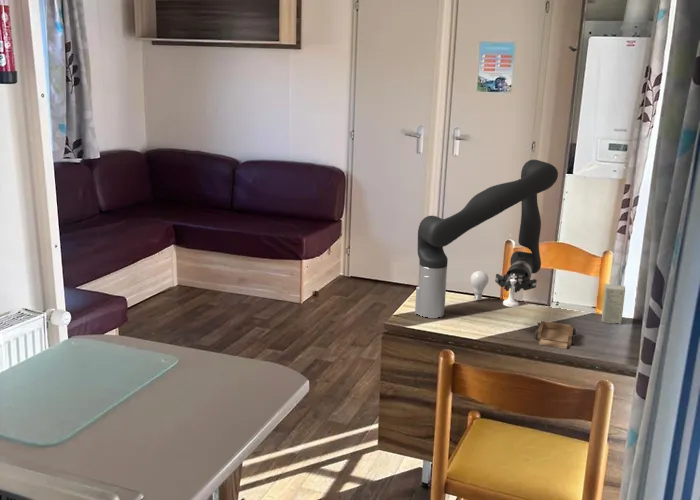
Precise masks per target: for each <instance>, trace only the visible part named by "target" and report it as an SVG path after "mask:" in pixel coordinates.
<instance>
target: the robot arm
mask: <svg viewBox="0 0 700 500" xmlns="http://www.w3.org/2000/svg"><path fill="white" fill-rule="evenodd" d="M520 173H521V174H520V178H519V179H517V180H512V181H509V182H504V183H499V184H496V185H491V186H489V187H488V188H486V189H484V190H481V191H480V192H479V193H477V194H475V195H474V196H473V197H472V198H471V199H469V201H468V202H467V203H466V205H465V206H464V207H463V208H462V209H461V210H460V211H458V212H457V213H456V212H455V214H452V215H451V216H448V217H446V218H441V217H439V216H436V215H427V216H425V217H424V218H423V219H422V220H421V221H420V223H419V225H418V229H417V255H418V259H419V261H418V262H419V265H418V281H417V283H418V284H417V286H416V289H415V291H416V292H415V307H414V314H415V315H416V314H418V315H417V316H419V315H420V316H419V317H422V316H423V317H422V318H425V317H428V318H427V319H439V318H438V317H440V318H443V317H444V316H445V310H446V309H445V308H446V306H445V305H446V292H447V275H448V260H449V259H448V257H447V254H446V253H445V251H444V247H446V246H448V245H450V244H451V243H453V242H454V241H456V240H457V239H458V238H460V237H461V236H463V235H464V234H465V233H467V232H469V231H470V230H472V229H473V228H475V227H477V226H479V225H480V224H482V223H484V222H486V221H488V220H490V219H492V218H494V217H496V216H498V215H499V214H501V213H502V212H505V211H506V210H507V209H509V208H512V207H513V206H515V205H517V204H518V203H520V202H521V203H520V204H521V211H520V212H521V216H520V226H519V230H518V231H519V232H518V244H519V245H520V246H522V247H524V248H527V249H528V250H530V252H527V251H519V250H518V251H514V252H513V253H512V254H511V256H510V260H509V261H510V262H509V263H510V266H509V268H508V270H507V271H506V274H504V275H501V274H499V273H496V274H495V283H496V284H497V285H498V286H500V288H503V289H504V290H505V291H506V292H510V290H511V288H509V287H510V286H511V282H510V279H513V277H511V276H513V274H515V276H517V278H514V279H516V280H517V282H516V284H515V289H514V293H516V294H517V293H518V292H520V291H521V290H523V291H529V290H531V289H536V288H537V282H538V281H537V279H536V278H535V279H531V278H532V274H536V273H538V272H539V271H540V270H541V266H542V259H541V253H540V236H541V230H542V219H541V213H540V209H539V205H538V194H539V193H543V192H544V191H547V190H549V189H550V188H551V187H553V185H555V183H556V181H557V180H558V176H559V172H558V169H557V167H556V166H554V165H553V164H551V163H550V162H549V163H548V162H546V161H542V160H539V159H530V160H528V161H526V162H525V163H524V165H523V166H522V168H521V172H520ZM443 315H444V316H443Z"/></svg>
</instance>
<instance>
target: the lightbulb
mask: <svg viewBox="0 0 700 500" xmlns="http://www.w3.org/2000/svg"><path fill="white" fill-rule="evenodd" d="M469 281H470V283H471V286H472V288H473V291H474V297H473V299H474V300H476V301H478V302H479V301H481V300H482V299H483V292H484V290H485V288H486V286H487V285H488V284H489V276H488V274H487V273H486V272H485V271H483V270H476V271H474V272H472V273H471V276H470V279H469Z"/></svg>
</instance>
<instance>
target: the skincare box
mask: <svg viewBox="0 0 700 500" xmlns="http://www.w3.org/2000/svg"><path fill="white" fill-rule="evenodd" d="M625 294H626V287H625V285H619V284H617V285H616V284H610V283H609V284H608V283H605V285H604V294H603V305H602V312H601V314H602V315H601V322H602V323H609V324H615V323H619V324H618V325H622V320H623V311H624V306H625V305H624V303H625V297H626V296H625Z"/></svg>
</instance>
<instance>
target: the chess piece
mask: <svg viewBox="0 0 700 500" xmlns="http://www.w3.org/2000/svg"><path fill="white" fill-rule="evenodd" d="M511 277H513V279H510V282H511V286H510V287H509V288H510V290H509V296H508V297H507V299H504V300H503V301H502V305H503V306H505V307H509V308H517V307H519V306H520V304H519V302H518V300H516V299H515V292H514V291H515V284H516V282H517V280H516V279H514V278H517V276H515V274H513V276H511Z"/></svg>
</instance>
